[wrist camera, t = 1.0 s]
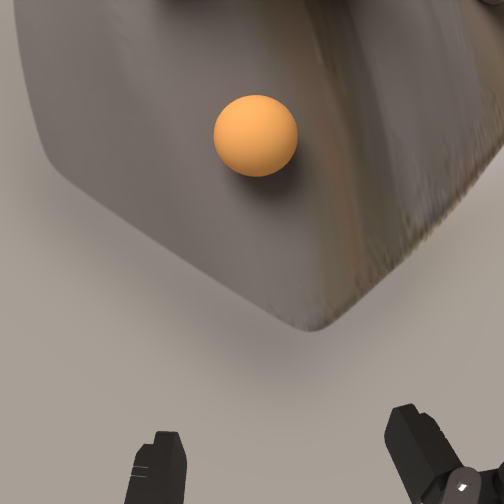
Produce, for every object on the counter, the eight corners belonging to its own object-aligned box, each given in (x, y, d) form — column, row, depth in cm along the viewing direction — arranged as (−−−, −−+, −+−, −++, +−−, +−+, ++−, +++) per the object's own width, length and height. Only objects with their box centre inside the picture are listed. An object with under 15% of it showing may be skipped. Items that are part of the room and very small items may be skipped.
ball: (213, 105, 22) (206, 92, 16) (287, 99, 22) (301, 86, 16) (220, 176, 23) (215, 185, 18) (293, 170, 23) (308, 177, 18)
